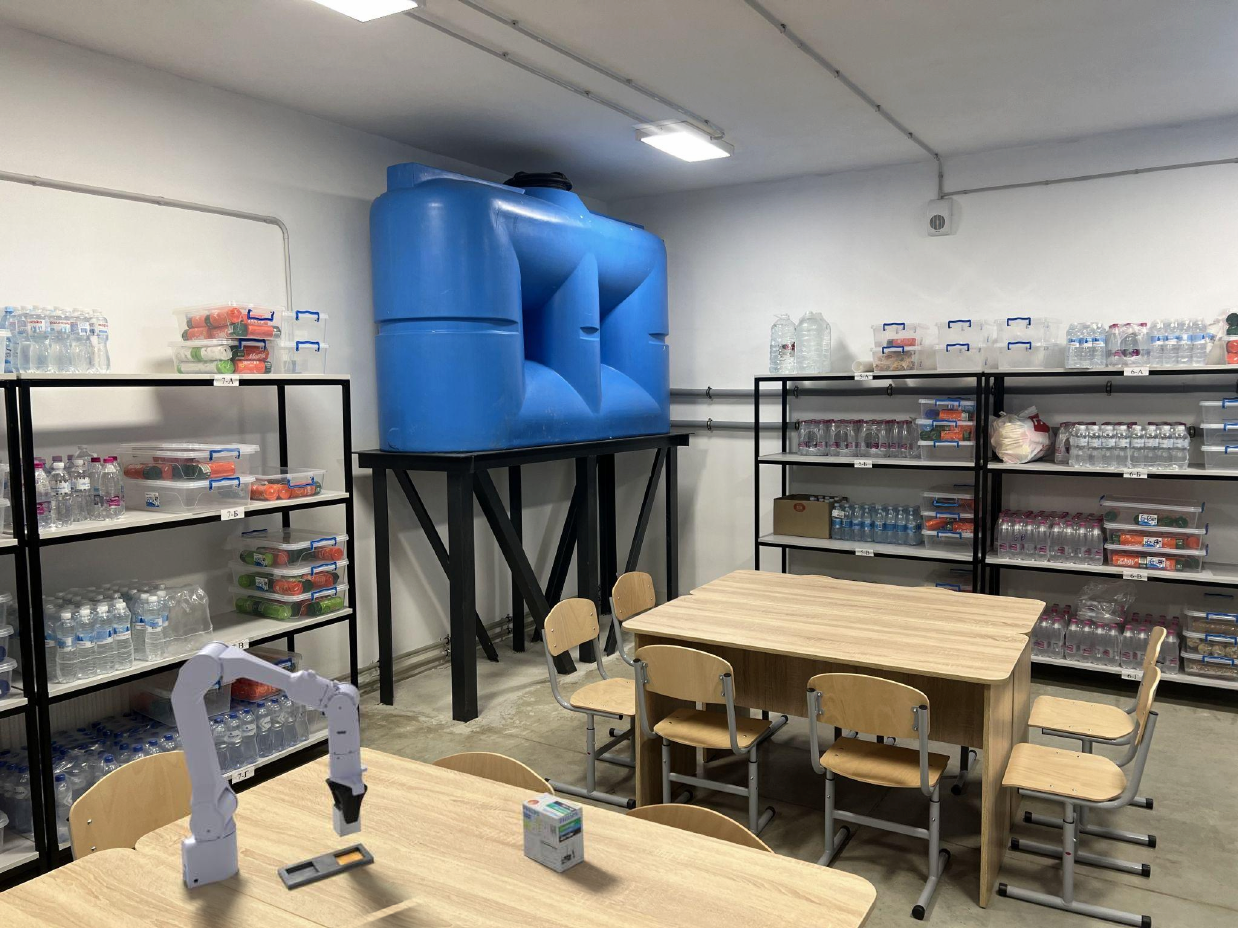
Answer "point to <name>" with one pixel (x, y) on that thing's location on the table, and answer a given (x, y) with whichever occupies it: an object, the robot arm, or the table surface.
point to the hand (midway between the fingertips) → (347, 817)
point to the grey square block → (340, 823)
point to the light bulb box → (553, 831)
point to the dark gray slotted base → (325, 865)
